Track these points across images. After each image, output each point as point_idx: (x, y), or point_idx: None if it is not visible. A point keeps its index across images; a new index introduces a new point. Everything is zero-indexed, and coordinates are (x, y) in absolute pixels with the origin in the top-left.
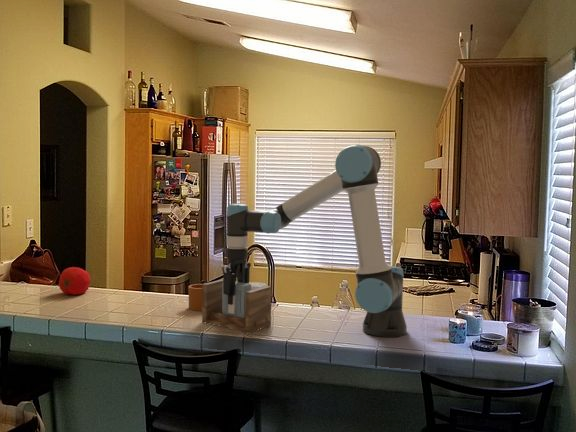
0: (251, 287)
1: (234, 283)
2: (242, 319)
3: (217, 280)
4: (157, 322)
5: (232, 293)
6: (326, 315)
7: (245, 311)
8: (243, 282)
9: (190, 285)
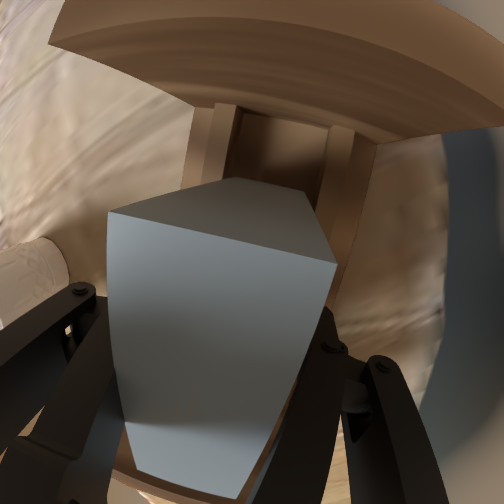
0: (4, 316)
1: (314, 437)
2: (343, 183)
3: (152, 494)
4: (345, 454)
5: (340, 354)
6: (35, 28)
7: (287, 192)
8: (103, 362)
9: (138, 489)
